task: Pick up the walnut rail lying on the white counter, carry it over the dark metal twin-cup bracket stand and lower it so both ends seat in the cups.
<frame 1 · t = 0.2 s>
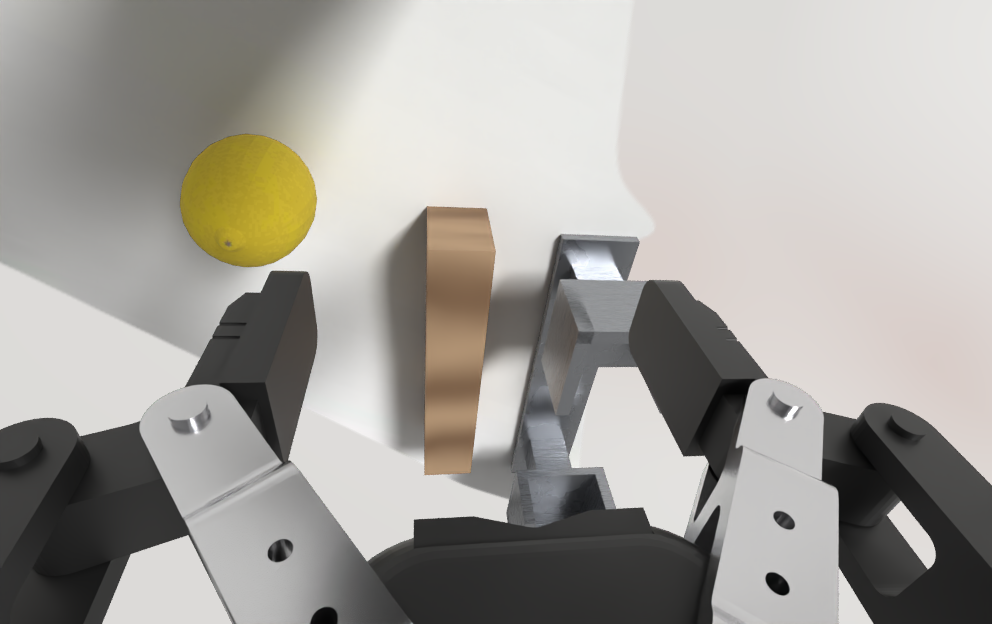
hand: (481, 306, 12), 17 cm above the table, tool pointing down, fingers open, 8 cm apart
bracket stand: (561, 373, 39), on the table
lemon: (273, 163, 27), on the table
rail: (450, 332, 36), on the table
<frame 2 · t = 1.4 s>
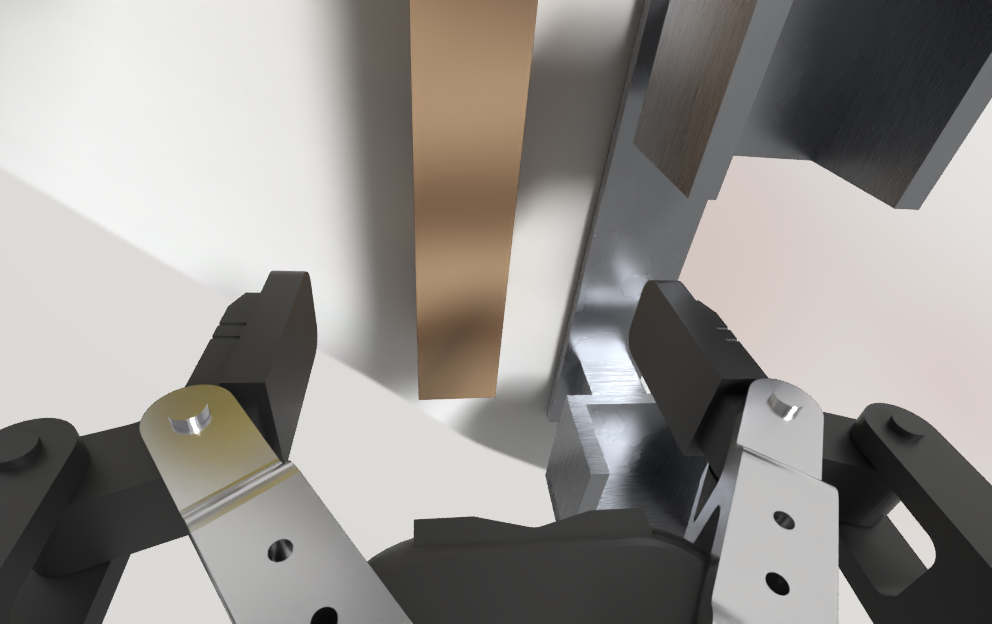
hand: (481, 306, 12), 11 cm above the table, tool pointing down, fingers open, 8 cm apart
bracket stand: (637, 239, 24), on the table
rail: (458, 144, 21), on the table
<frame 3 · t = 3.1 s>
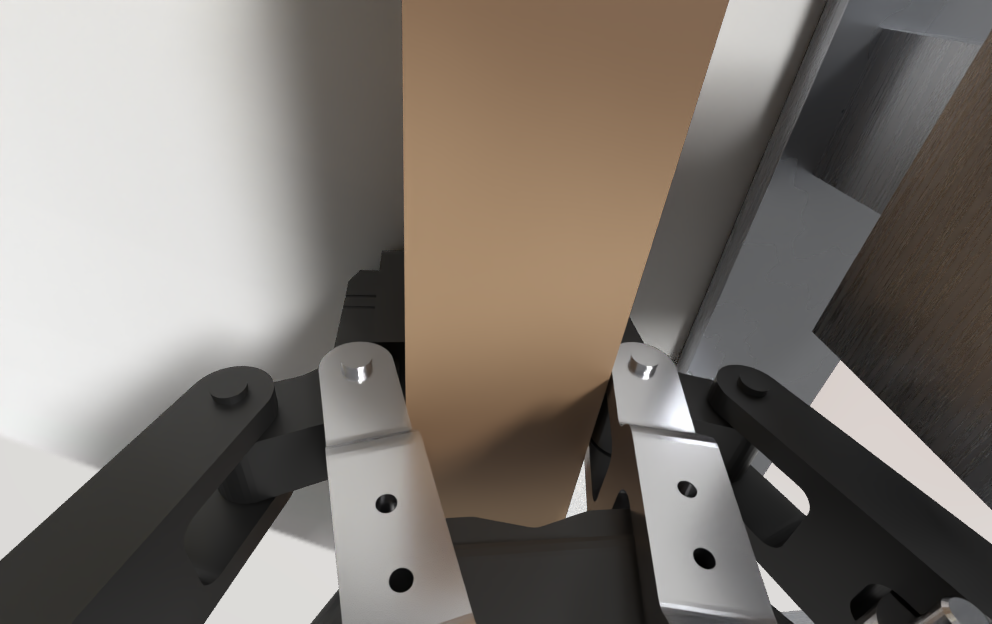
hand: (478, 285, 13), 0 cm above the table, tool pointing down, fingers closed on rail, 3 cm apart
bracket stand: (736, 387, 17), on the table
rail: (478, 278, 13), on the table, touching gripper
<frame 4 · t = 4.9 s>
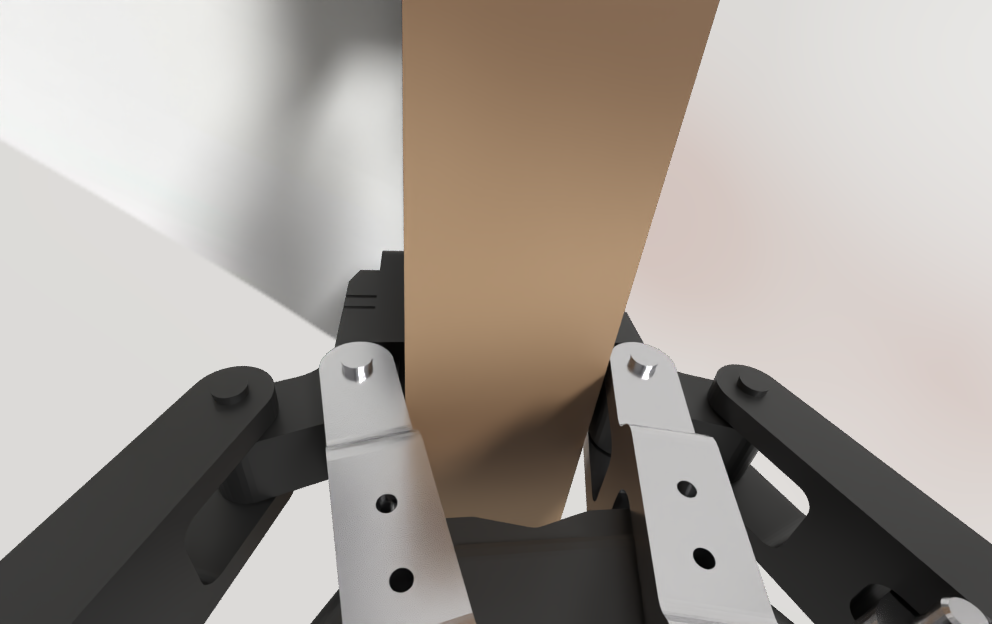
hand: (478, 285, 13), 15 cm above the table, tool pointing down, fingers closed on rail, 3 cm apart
rail: (477, 278, 13), point 15 cm above the table, touching gripper
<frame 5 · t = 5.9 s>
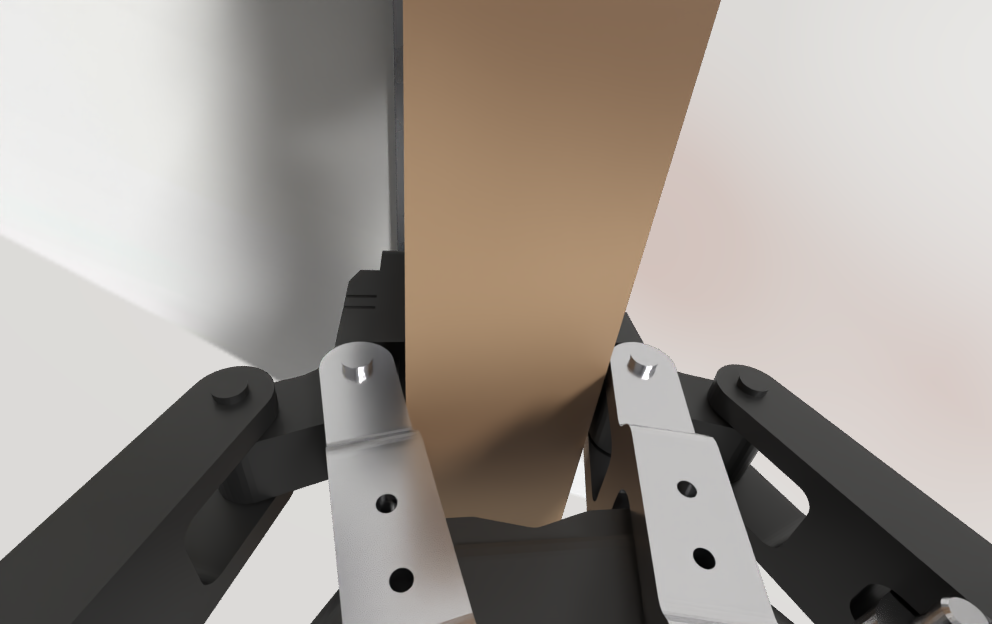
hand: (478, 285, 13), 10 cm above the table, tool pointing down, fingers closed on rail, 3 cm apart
bracket stand: (457, 151, 21), on the table
rail: (477, 278, 13), point 10 cm above the table, touching gripper
when the fingers open (7 cm above the table, at t = 6.8 s): rail stays where it is, resting on bracket stand.
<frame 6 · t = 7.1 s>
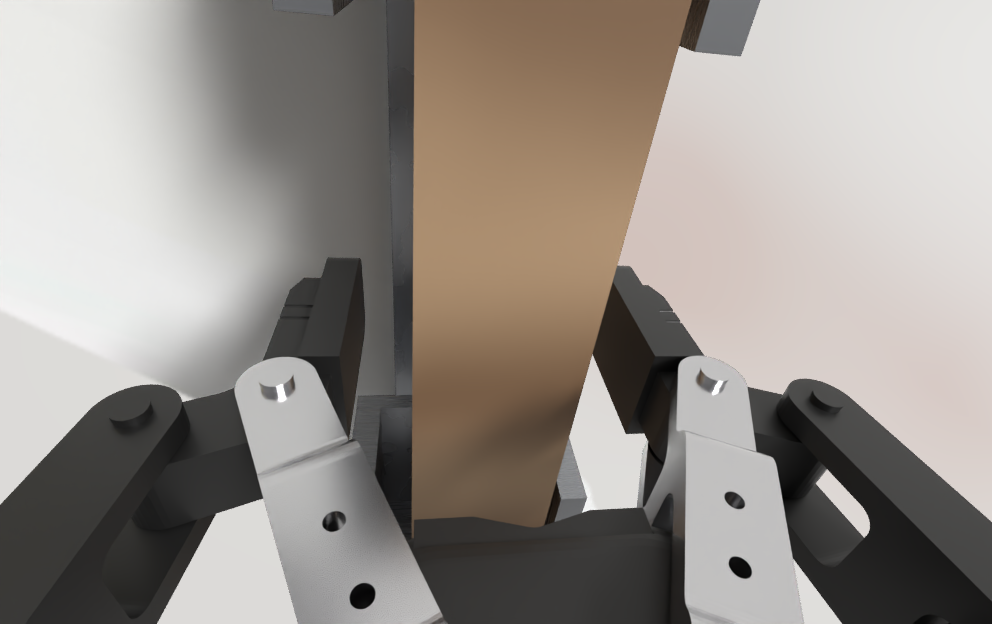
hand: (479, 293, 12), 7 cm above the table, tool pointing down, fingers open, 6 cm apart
bracket stand: (461, 185, 18), on the table
rail: (478, 258, 14), point 5 cm above the table, touching bracket stand
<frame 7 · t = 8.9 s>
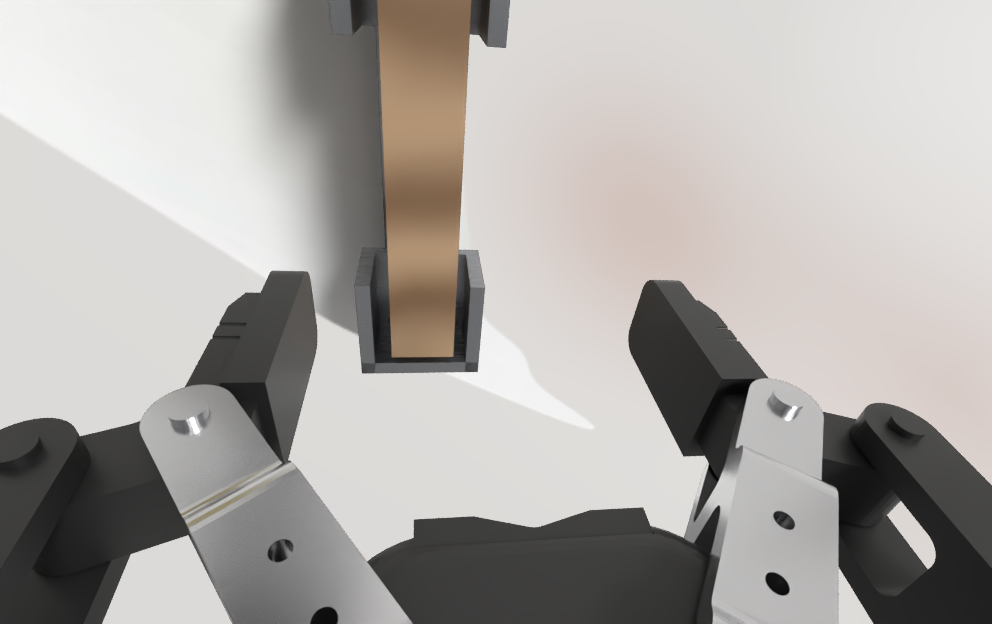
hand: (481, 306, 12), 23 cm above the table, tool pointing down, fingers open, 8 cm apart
bracket stand: (421, 129, 31), on the table
rail: (423, 156, 27), point 5 cm above the table, touching bracket stand
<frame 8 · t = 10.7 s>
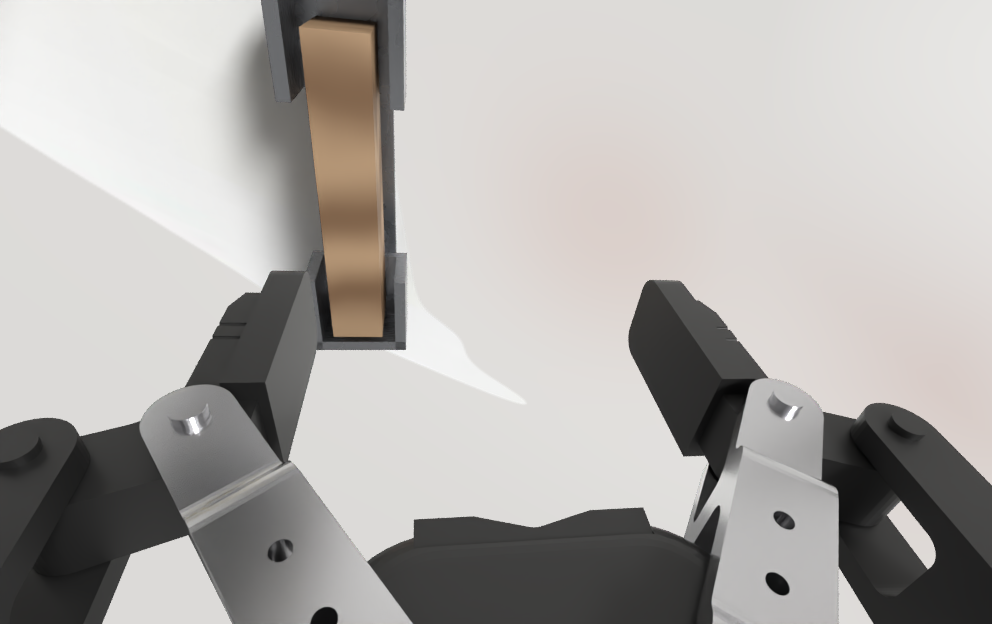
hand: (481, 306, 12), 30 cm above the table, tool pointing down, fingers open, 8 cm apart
bracket stand: (362, 156, 39), on the table
rail: (357, 181, 35), point 5 cm above the table, touching bracket stand
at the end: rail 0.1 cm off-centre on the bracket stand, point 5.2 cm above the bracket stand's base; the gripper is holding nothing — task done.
